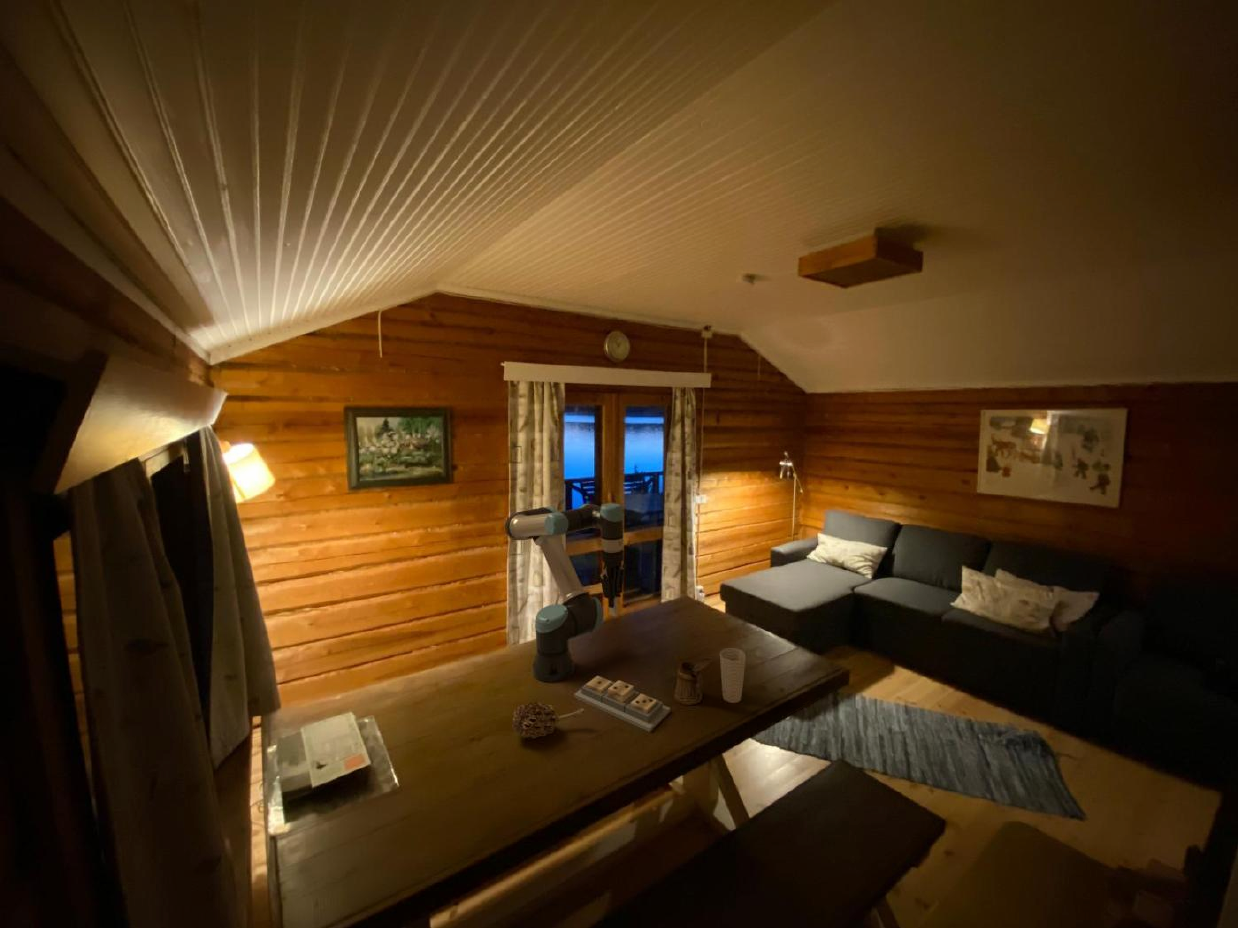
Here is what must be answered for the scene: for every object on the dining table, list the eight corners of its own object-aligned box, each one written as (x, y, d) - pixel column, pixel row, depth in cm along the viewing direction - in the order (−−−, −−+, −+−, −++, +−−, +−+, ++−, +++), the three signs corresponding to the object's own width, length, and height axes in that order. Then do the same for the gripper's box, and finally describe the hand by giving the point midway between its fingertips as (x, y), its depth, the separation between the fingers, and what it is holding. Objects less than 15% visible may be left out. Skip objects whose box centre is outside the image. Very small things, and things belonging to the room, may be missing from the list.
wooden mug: (694, 716, 160) (694, 663, 157) (668, 694, 171) (668, 644, 169) (716, 707, 164) (717, 655, 162) (690, 686, 176) (690, 637, 173)
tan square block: (586, 692, 171) (586, 683, 170) (597, 683, 176) (597, 675, 175) (600, 698, 167) (600, 689, 167) (611, 689, 172) (611, 680, 172)
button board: (574, 697, 171) (573, 688, 170) (596, 680, 180) (596, 671, 180) (649, 732, 153) (649, 721, 152) (670, 711, 162) (670, 701, 162)
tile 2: (608, 697, 165) (607, 688, 165) (618, 688, 170) (618, 679, 170) (623, 703, 162) (622, 694, 161) (633, 694, 167) (633, 685, 166)
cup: (713, 697, 169) (714, 654, 167) (728, 687, 175) (729, 644, 173) (735, 708, 163) (736, 663, 161) (750, 697, 169) (751, 653, 167)
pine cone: (515, 751, 146) (513, 719, 144) (510, 730, 155) (509, 700, 153) (589, 733, 153) (588, 702, 151) (581, 714, 162) (580, 685, 160)
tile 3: (630, 711, 160) (630, 702, 160) (641, 702, 165) (641, 692, 165) (646, 718, 157) (646, 709, 156) (657, 708, 162) (657, 699, 161)
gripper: (609, 556, 166) (610, 624, 169) (632, 546, 176) (633, 610, 180) (591, 552, 170) (593, 619, 174) (615, 542, 180) (616, 605, 184)
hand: (613, 614), depth 177 cm, fingers closed
